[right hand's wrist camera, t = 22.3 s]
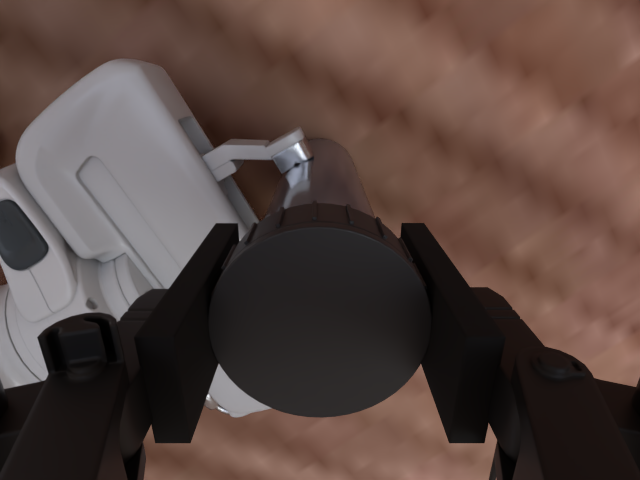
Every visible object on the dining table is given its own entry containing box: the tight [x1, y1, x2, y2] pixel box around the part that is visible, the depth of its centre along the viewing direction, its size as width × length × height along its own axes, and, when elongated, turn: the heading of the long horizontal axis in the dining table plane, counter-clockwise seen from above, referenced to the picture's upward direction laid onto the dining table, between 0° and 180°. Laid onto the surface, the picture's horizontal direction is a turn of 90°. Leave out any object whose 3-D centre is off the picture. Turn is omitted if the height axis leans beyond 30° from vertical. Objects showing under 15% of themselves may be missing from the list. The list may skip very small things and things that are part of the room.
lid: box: [208, 201, 432, 417], centre depth 11 cm, size 6×6×2 cm
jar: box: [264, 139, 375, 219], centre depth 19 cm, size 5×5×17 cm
